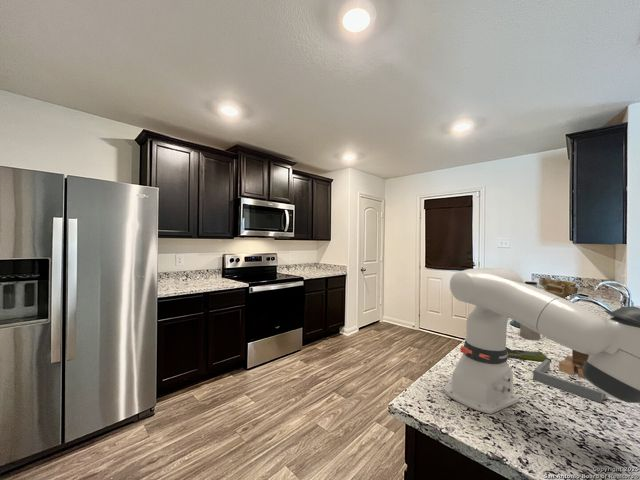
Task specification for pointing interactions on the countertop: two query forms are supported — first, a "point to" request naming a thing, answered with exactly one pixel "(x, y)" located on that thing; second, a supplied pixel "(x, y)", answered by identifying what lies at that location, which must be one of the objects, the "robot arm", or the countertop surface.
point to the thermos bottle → (524, 330)
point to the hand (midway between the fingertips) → (579, 346)
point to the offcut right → (580, 372)
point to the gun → (527, 355)
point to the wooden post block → (577, 359)
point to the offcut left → (567, 367)
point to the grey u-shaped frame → (565, 383)
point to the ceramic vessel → (558, 287)
